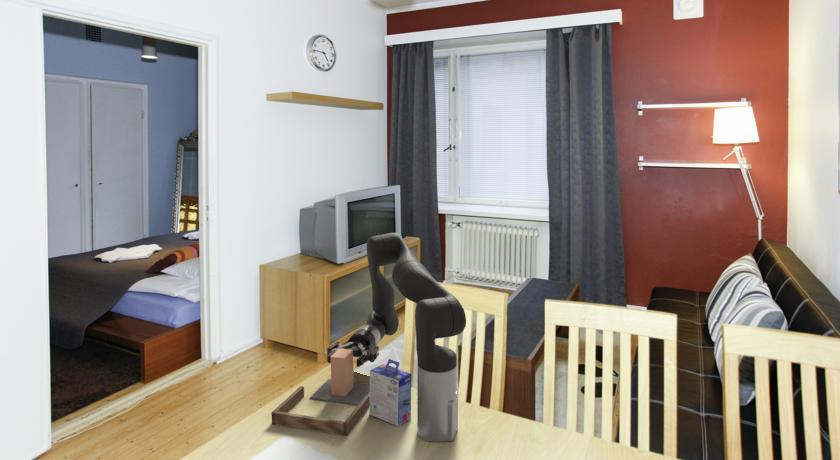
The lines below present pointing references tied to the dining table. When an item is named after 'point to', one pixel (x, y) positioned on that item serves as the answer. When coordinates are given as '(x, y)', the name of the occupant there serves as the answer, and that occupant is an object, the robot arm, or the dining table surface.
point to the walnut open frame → (315, 423)
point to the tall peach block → (342, 372)
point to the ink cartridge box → (390, 393)
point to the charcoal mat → (351, 398)
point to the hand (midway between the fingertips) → (343, 361)
